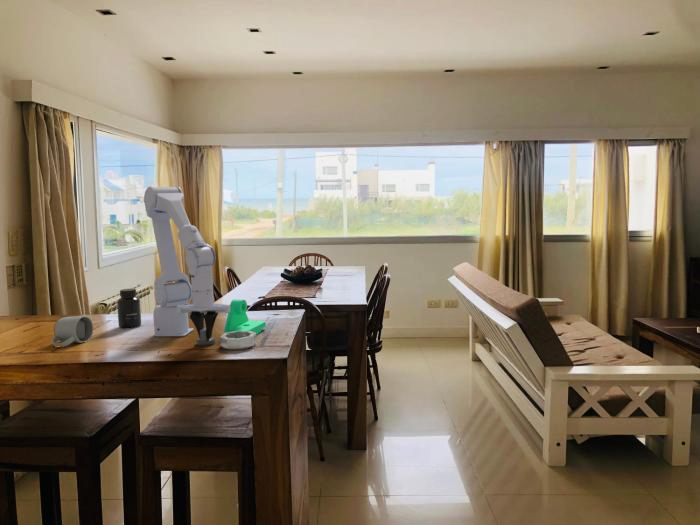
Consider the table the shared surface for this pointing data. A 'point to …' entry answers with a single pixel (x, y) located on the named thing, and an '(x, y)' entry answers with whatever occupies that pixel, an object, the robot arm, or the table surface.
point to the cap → (204, 339)
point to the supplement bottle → (129, 309)
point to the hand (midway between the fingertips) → (205, 337)
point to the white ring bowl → (238, 340)
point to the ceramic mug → (72, 330)
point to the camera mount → (241, 319)
